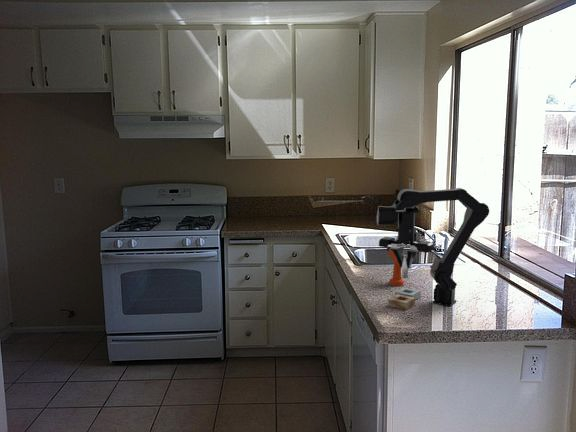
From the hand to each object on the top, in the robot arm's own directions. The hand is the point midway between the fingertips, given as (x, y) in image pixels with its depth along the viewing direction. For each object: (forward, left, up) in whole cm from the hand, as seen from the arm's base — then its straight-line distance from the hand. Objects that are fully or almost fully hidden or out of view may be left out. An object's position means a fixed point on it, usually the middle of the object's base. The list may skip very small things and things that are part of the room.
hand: (405, 267), depth 185 cm
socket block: (-1, +4, -13) cm, 13 cm away
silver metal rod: (0, 0, -4) cm, 4 cm away
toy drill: (+16, -22, -13) cm, 31 cm away
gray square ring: (+1, -5, -13) cm, 14 cm away
